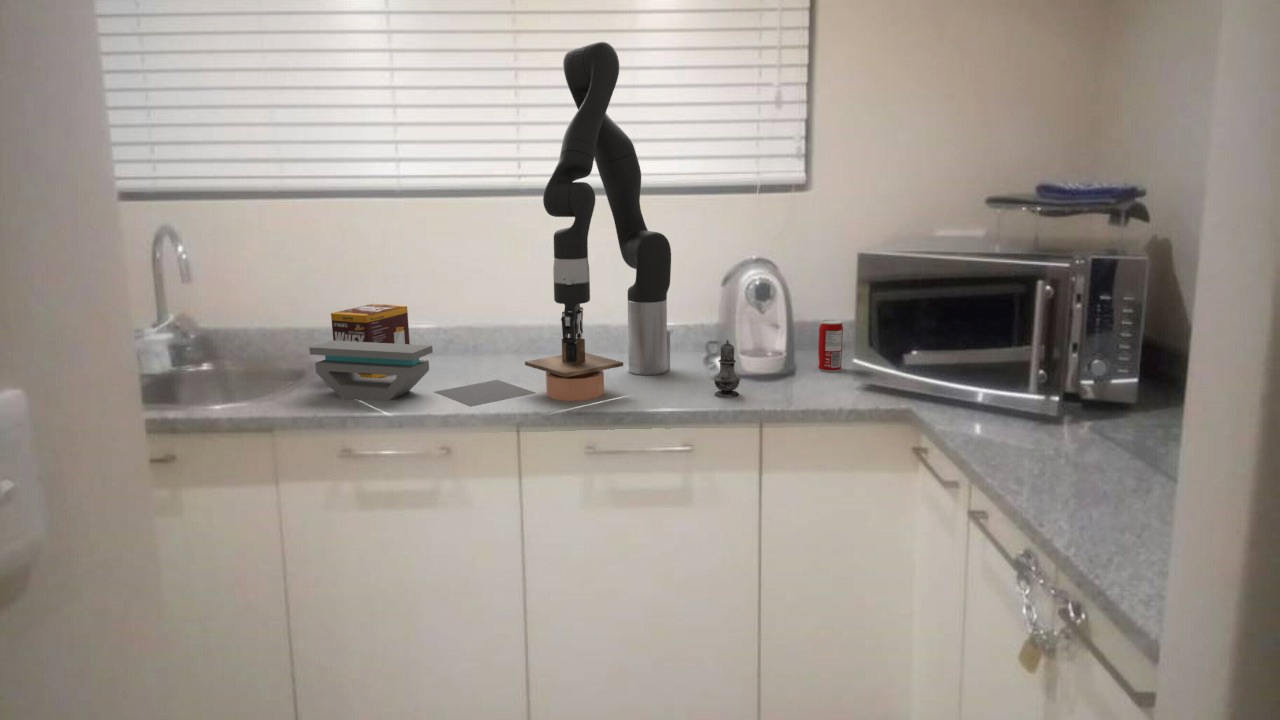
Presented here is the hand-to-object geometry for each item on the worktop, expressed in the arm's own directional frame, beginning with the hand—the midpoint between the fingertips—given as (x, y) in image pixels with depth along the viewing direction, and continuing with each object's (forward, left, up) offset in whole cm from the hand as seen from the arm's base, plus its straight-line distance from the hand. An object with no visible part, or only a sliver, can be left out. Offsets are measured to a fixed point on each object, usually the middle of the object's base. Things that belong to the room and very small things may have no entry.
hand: (573, 358), depth 182 cm
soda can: (-59, +23, -8) cm, 63 cm away
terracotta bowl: (0, 0, -8) cm, 8 cm away
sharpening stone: (+32, -29, -8) cm, 44 cm away
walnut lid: (0, 0, -1) cm, 1 cm away
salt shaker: (-24, +22, -8) cm, 34 cm away
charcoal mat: (+14, -14, -8) cm, 21 cm away
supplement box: (+23, -50, -8) cm, 56 cm away
